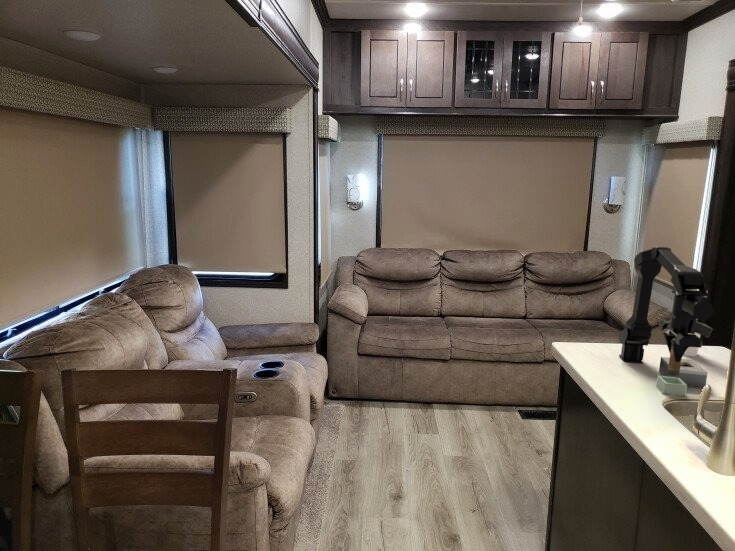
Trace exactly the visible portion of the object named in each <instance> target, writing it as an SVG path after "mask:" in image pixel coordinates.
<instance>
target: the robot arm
mask: <svg viewBox="0 0 735 551" xmlns="http://www.w3.org/2000/svg"><path fill="white" fill-rule="evenodd" d="M662 268H664V270H666V271H667V272H668V274H669V275H670V276H671V278H670V282H671V284H672V285H673V287H674V289H672V290H671V293H672V294H673V295H674V296H673V303H672V310H671V311H669V312H668V313H669V314H668V315H669V316H670V320H660V322H659V323H658V329H659V330H660V331H664V330H665V332H663V333H662V335H663V337H664V340H665V343H666V346H667V349H668V352H669V354H670V353H671V346H672V348H673V353H674V358H675V361H676V362H680V360H681V358H682V359H683V356H685V355H684V353H685V351H686V350H687V348H688V347H698V349H699V348H700V349H701V348H702V346H703V340H702V339H701V337H700V338H699V337H698V336H696V335H694V334H695V332H696V333H698V334H700V336H703V337H704V338H706V339H708V338H709V337H710V335H711V333H712V331H714V328H712V327H711V326H709V325H707V324H706V323H704V321H706V320H709V319H710V318H711V317H712V316H713V315H714V307H713V304H711V303H710V302H709V297H708V292H707V291H709V290H708V288H707V286H706V283H705V279H704V275H703V273H701V271H700V270H698V269H696V268H694V267H690V266H688V265H686V264H685V263H683V261H682V260H680V258H679V257H677V256H676V255H675V254H674V252H672V249H671V248H670V247H669V246H655V247H652V248H650V249H647V250H643V251H641V252H639V253H638V254H636V256H635V257H634V270H635V273H636V274H637V276H638V277H637V283H636V290H635V296H634V302H633V308H632V315H631V316H630V317H629V318H628V320H627V321H626V322H625V326H624V328H623V329H622V330H621V332H620V333H619V334H618V342H619V343H621V350H620V351H621V352H620V354H619V355H618V356H619V357H620V359H621V360H622V362H627V363H635V364H636V363H639V364H643V360H644V354H645V349H644V346H645V347H646V346H648V345H649V343H650V340H651V337H652V329H653V326H652V325H651V324H650V322H649V320H648V316H649V309H650V304H651V297H652V291H653V287H654V286H653V285H654V280H655V278H656V277H658V275H659V274H660V273H661V270H662ZM698 289H699V290H698ZM704 296H707V297H704ZM688 333H690V334H688ZM673 338H675V340H673Z"/></svg>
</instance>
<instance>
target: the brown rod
mask: <svg viewBox="0 0 735 551" xmlns="http://www.w3.org/2000/svg"><path fill="white" fill-rule="evenodd" d="M673 340H675V338H673ZM669 354H670V355H669V358H670V359H669V366H668V372H667V373H668V374H670V375H675V376H678V375H679V372H680V366H681V360H680V362H676V361H675V358H674V353H673V348H672V346H671V353H670V352H669ZM681 359H683V357H682V358H681Z"/></svg>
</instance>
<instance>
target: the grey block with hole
mask: <svg viewBox="0 0 735 551" xmlns="http://www.w3.org/2000/svg"><path fill="white" fill-rule="evenodd" d="M669 359H670V356H668V357H667V356H666V357H665V356H661V357H660V360H659V361H660V363H659V367H658V373H659V374H660V376H666V377H678V378H680V379H681V380H682V381H683V382H684V383H685V384H686V385H687V388H694V389H704V388H703V387H704V386H705V387H706V384H707V378H708V371H707V370H706V369H705V368H703V366H701V365H699V364H698V363H697V362H696V361H695V360H694V359H690V358H682V359H681V366H680V372H679V375H678V376H675V375H670V374H668V373H667V372H668V366H669ZM683 366H684V367H683Z"/></svg>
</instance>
